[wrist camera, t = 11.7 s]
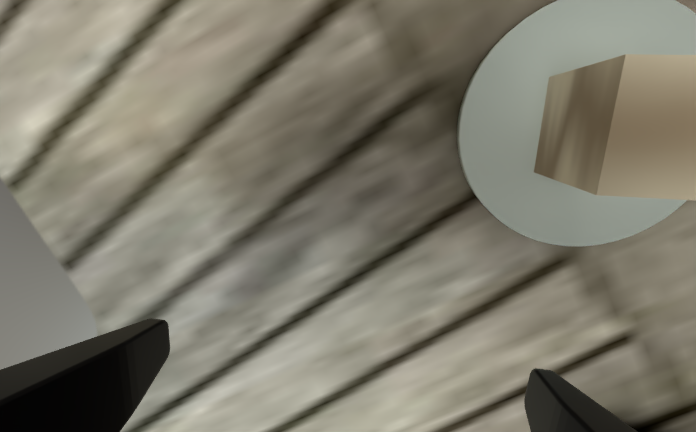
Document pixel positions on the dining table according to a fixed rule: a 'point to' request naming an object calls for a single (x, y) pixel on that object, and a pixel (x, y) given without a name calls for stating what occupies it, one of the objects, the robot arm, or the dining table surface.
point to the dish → (528, 106)
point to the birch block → (623, 127)
